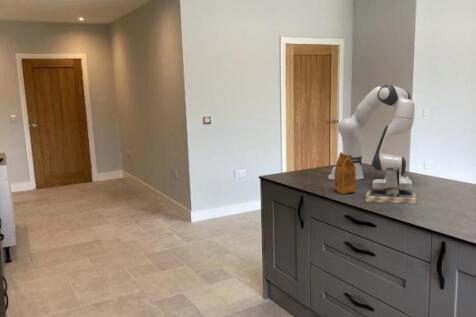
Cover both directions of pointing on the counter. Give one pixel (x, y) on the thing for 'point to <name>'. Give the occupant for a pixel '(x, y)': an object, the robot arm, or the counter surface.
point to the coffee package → (345, 175)
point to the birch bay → (390, 199)
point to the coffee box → (392, 182)
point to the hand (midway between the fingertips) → (391, 187)
